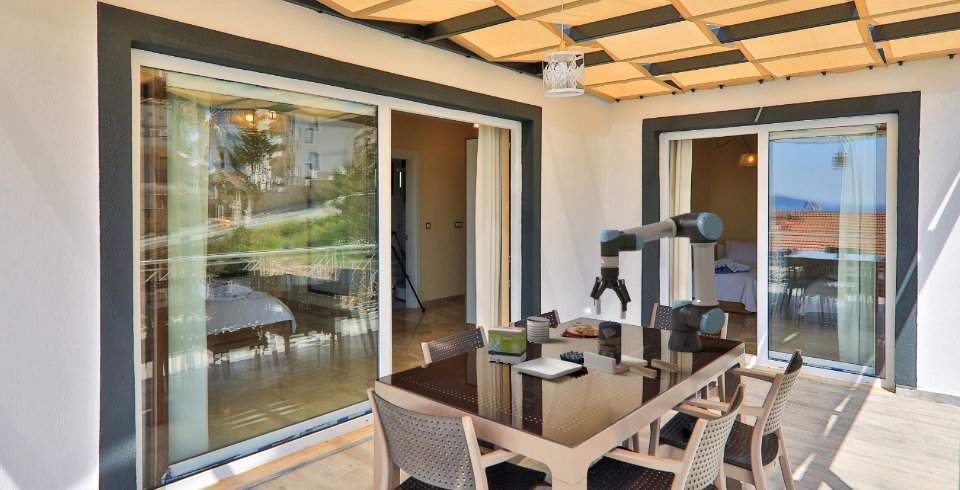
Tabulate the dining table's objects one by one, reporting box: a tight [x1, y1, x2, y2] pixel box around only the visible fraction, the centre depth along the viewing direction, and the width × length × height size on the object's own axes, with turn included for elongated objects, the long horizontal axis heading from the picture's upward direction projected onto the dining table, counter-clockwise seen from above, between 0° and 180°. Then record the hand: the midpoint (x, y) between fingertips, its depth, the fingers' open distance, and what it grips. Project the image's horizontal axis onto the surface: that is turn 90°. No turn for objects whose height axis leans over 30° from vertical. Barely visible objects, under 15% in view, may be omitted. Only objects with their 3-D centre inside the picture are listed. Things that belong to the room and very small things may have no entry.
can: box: [526, 316, 550, 344], centre depth 293 cm, size 11×11×12 cm
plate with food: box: [559, 321, 599, 341], centre depth 308 cm, size 25×26×4 cm
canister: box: [597, 320, 623, 364], centre depth 241 cm, size 10×10×18 cm
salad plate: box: [512, 356, 583, 380], centre depth 236 cm, size 21×21×3 cm
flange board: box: [582, 351, 648, 375], centre depth 244 cm, size 22×16×6 cm
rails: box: [629, 358, 679, 380], centre depth 234 cm, size 16×12×3 cm
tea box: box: [487, 325, 527, 365], centre depth 254 cm, size 15×10×15 cm, turn 70°
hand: (610, 316), depth 241 cm, fingers open, 13 cm apart
